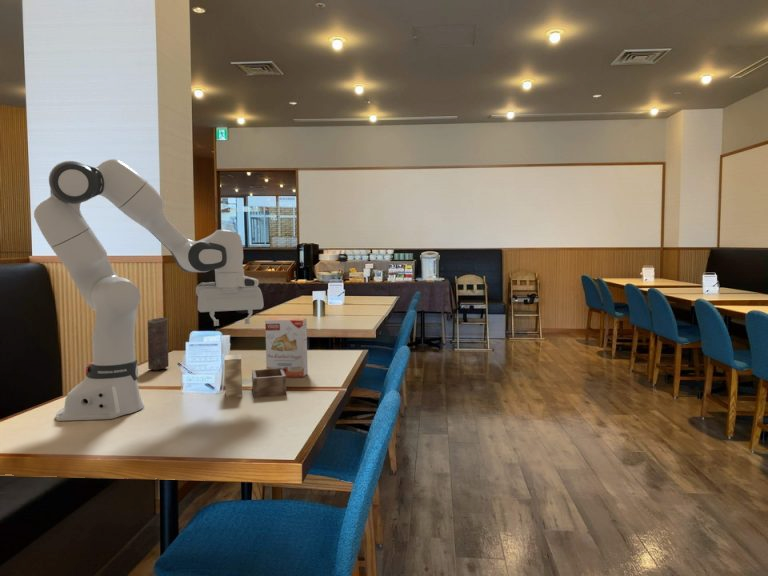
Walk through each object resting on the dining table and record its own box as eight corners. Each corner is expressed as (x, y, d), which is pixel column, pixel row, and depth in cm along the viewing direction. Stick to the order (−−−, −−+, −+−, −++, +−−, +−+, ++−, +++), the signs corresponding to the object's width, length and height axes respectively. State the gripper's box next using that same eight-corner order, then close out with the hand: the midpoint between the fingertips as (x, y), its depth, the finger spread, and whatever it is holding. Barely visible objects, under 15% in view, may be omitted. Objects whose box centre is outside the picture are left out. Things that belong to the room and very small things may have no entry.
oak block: (225, 397, 175) (224, 359, 174) (226, 391, 183) (224, 355, 182) (242, 396, 176) (241, 358, 175) (241, 390, 184) (240, 354, 183)
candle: (173, 368, 219) (171, 318, 218) (156, 372, 213) (154, 320, 212) (160, 367, 223) (158, 317, 222) (144, 370, 217) (142, 319, 216)
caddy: (254, 397, 175) (253, 378, 174) (252, 387, 187) (251, 369, 187) (286, 394, 177) (285, 376, 177) (282, 385, 190) (282, 367, 189)
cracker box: (266, 377, 202) (264, 319, 201) (271, 373, 208) (269, 317, 207) (304, 377, 201) (302, 319, 199) (308, 373, 207) (306, 317, 205)
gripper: (194, 283, 171) (196, 328, 172) (263, 280, 176) (264, 324, 178) (196, 282, 177) (198, 325, 178) (262, 279, 183) (263, 321, 184)
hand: (231, 324), depth 178 cm, fingers open, 8 cm apart
